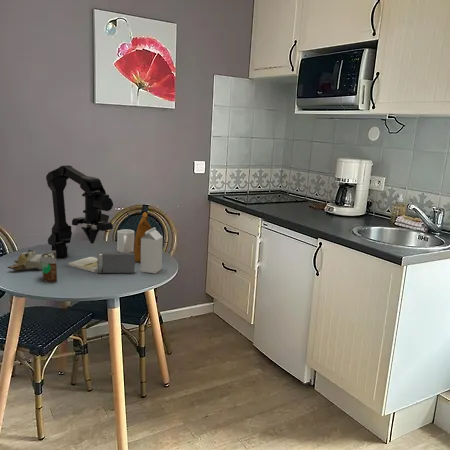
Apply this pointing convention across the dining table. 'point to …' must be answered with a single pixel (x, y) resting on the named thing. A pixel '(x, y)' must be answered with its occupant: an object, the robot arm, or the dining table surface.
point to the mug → (125, 241)
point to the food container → (49, 266)
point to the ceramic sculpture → (27, 261)
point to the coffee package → (140, 236)
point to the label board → (85, 264)
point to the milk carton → (151, 251)
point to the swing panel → (115, 262)
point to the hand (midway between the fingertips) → (92, 243)
